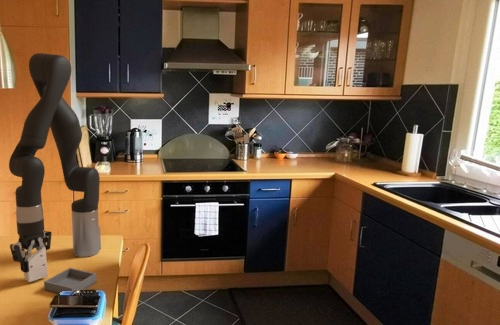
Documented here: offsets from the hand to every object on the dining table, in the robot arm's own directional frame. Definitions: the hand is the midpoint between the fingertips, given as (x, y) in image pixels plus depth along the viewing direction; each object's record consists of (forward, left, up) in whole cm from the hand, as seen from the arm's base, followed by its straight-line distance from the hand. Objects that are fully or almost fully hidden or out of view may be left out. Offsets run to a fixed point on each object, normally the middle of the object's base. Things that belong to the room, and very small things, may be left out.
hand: (33, 267), depth 128 cm
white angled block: (-1, 0, -4) cm, 4 cm away
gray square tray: (-2, +13, -5) cm, 14 cm away
